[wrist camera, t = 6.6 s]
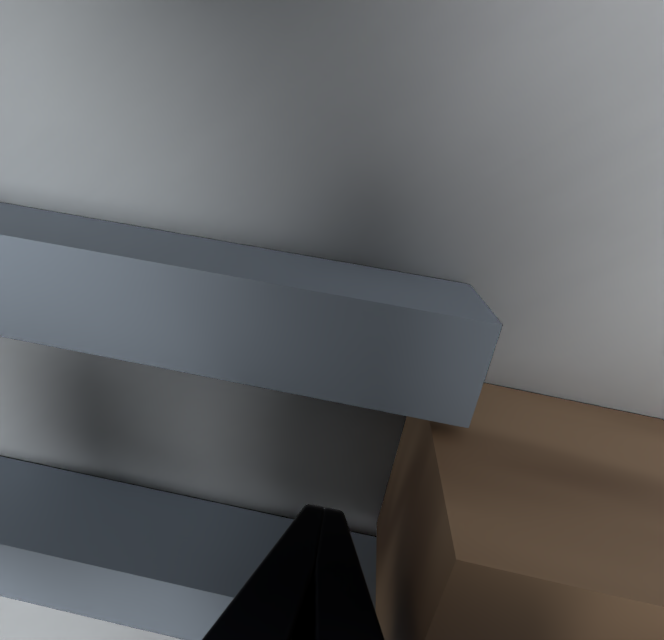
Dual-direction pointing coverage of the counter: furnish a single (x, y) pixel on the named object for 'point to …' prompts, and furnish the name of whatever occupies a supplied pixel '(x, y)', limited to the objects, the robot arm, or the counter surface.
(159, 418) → the counter surface
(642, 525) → the walnut block
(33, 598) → the grey piece
